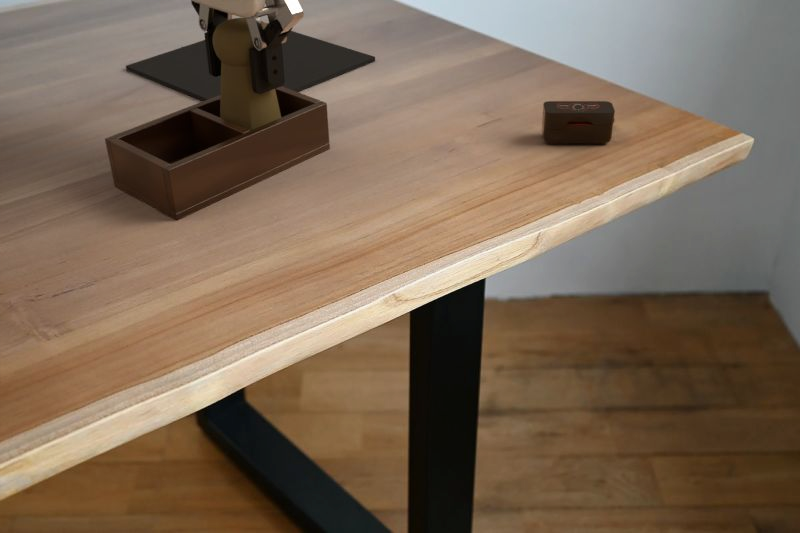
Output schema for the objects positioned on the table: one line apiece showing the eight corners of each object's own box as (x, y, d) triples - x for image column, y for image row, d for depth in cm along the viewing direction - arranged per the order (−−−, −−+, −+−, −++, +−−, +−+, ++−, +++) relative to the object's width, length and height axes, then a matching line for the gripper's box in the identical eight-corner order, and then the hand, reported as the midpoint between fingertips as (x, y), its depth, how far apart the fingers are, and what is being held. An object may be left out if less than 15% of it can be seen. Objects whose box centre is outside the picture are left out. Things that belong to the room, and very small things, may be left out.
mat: (126, 69, 103) (125, 65, 103) (261, 25, 115) (260, 21, 115) (238, 115, 92) (238, 111, 91) (375, 60, 104) (375, 56, 104)
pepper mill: (230, 123, 87) (217, 9, 81) (292, 127, 86) (284, 12, 80) (210, 151, 82) (195, 31, 76) (276, 155, 81) (266, 34, 75)
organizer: (114, 186, 79) (104, 138, 77) (266, 122, 90) (261, 78, 88) (177, 220, 74) (167, 170, 72) (330, 148, 85) (327, 102, 82)
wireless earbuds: (620, 145, 84) (624, 113, 82) (543, 145, 84) (545, 113, 83) (613, 124, 88) (616, 93, 86) (538, 124, 88) (541, 93, 87)
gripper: (121, -147, 73) (155, 68, 83) (259, -120, 64) (278, 120, 74) (197, -158, 78) (220, 47, 88) (336, -134, 68) (344, 93, 78)
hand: (246, 78), depth 81 cm, fingers closed on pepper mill, 5 cm apart
